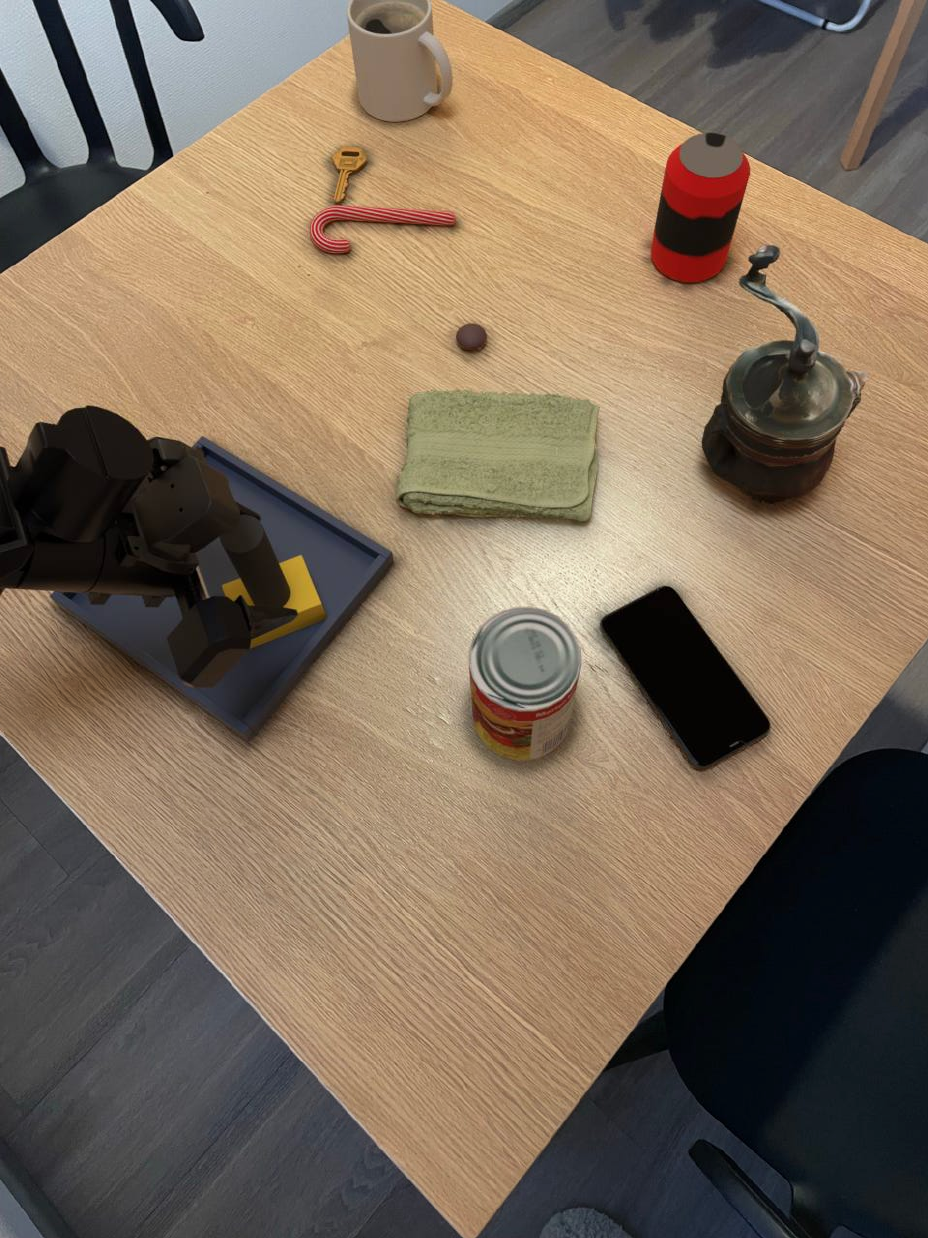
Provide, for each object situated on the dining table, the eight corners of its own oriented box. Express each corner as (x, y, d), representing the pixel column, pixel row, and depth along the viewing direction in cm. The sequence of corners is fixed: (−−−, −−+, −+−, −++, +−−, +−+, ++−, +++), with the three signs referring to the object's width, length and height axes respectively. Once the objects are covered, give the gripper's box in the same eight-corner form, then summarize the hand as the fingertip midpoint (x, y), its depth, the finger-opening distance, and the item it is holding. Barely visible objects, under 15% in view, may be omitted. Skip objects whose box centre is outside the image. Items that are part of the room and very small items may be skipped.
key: (321, 202, 103) (321, 199, 102) (335, 148, 106) (335, 145, 106) (356, 204, 102) (356, 201, 102) (369, 150, 106) (369, 147, 105)
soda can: (730, 234, 99) (759, 131, 88) (720, 290, 96) (748, 190, 85) (656, 222, 100) (675, 119, 89) (644, 277, 97) (662, 178, 86)
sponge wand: (248, 650, 81) (205, 579, 69) (230, 600, 83) (185, 523, 71) (327, 619, 82) (298, 543, 70) (307, 570, 84) (276, 489, 72)
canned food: (508, 651, 81) (509, 586, 70) (589, 701, 79) (603, 643, 68) (453, 726, 78) (446, 670, 67) (535, 780, 76) (541, 732, 65)
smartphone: (594, 623, 81) (696, 776, 76) (595, 619, 81) (698, 773, 75) (668, 584, 83) (774, 731, 77) (670, 580, 82) (777, 728, 76)
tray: (249, 742, 78) (243, 734, 76) (59, 606, 84) (48, 596, 82) (394, 563, 85) (392, 551, 83) (208, 448, 90) (202, 435, 88)
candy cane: (450, 262, 99) (450, 251, 98) (306, 254, 100) (303, 243, 99) (456, 219, 101) (456, 207, 100) (315, 211, 102) (313, 200, 101)
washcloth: (594, 529, 85) (597, 510, 82) (394, 518, 86) (391, 499, 83) (598, 407, 91) (602, 386, 88) (410, 398, 92) (407, 376, 89)
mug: (351, 77, 111) (338, -11, 102) (431, 60, 112) (426, -29, 103) (372, 141, 106) (361, 55, 97) (456, 123, 107) (452, 36, 98)
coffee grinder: (758, 369, 92) (813, 219, 76) (852, 487, 86) (934, 352, 70) (641, 421, 90) (672, 278, 74) (730, 546, 84) (785, 421, 68)
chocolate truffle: (489, 351, 94) (489, 340, 92) (458, 356, 94) (458, 345, 92) (484, 327, 95) (484, 316, 94) (454, 332, 95) (453, 321, 94)
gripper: (179, 596, 57) (377, 607, 68) (101, 363, 64) (292, 409, 76) (99, 694, 63) (293, 689, 74) (36, 471, 70) (222, 498, 82)
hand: (276, 567), depth 76 cm, fingers open, 9 cm apart
